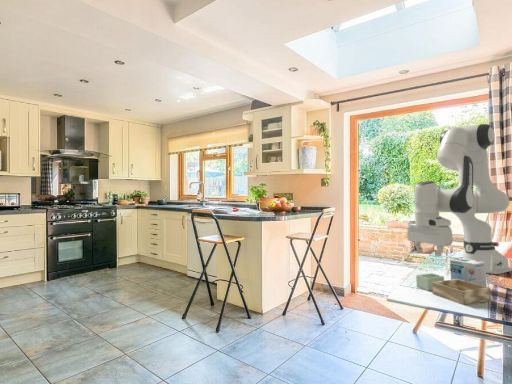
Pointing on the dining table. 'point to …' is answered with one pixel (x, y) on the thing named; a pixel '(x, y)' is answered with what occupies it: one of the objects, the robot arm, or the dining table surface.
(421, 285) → the green crate
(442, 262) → the dining table surface
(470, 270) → the light bulb box
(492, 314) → the dining table surface
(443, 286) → the birch crate
